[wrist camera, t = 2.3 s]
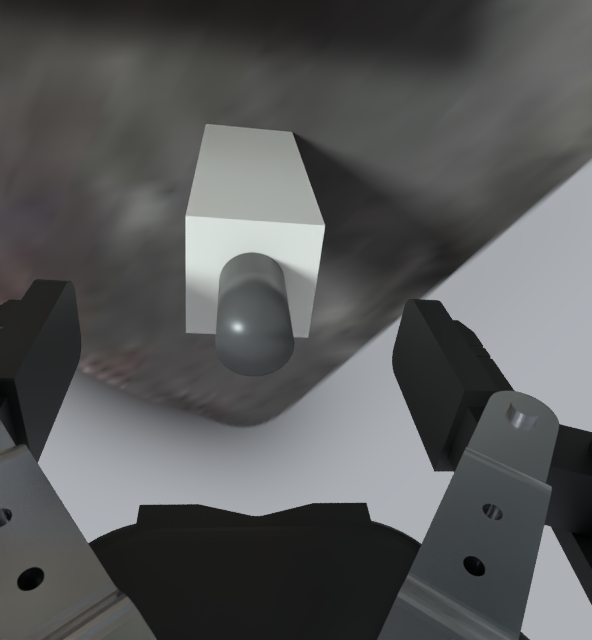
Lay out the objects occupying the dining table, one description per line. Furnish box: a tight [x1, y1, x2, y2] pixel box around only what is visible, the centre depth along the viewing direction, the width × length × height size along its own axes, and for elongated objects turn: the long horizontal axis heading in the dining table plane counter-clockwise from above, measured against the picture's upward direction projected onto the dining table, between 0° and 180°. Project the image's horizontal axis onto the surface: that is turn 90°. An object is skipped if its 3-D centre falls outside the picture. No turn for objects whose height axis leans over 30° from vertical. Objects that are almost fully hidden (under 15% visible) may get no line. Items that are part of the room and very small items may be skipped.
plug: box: [186, 124, 325, 376], centre depth 17 cm, size 4×4×13 cm
